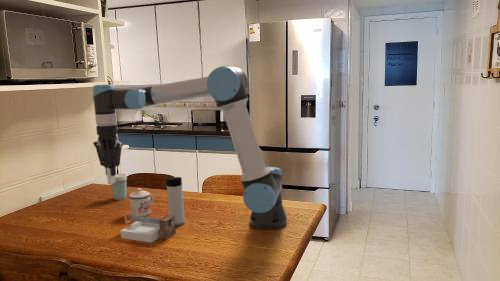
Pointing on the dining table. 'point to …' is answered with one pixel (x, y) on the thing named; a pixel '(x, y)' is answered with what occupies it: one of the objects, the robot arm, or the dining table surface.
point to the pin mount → (166, 227)
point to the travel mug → (175, 199)
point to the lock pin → (143, 219)
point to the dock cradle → (141, 232)
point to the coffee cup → (119, 187)
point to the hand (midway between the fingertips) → (111, 183)
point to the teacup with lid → (140, 202)
